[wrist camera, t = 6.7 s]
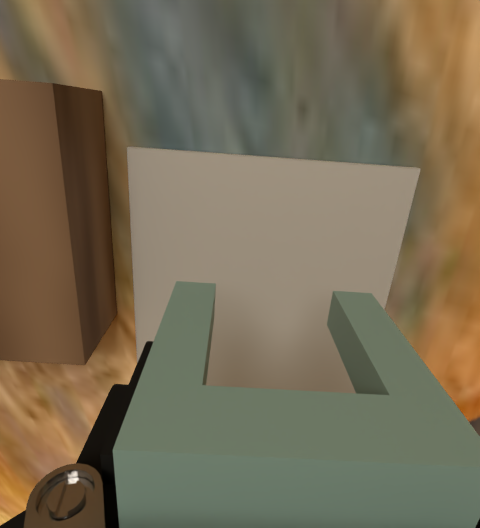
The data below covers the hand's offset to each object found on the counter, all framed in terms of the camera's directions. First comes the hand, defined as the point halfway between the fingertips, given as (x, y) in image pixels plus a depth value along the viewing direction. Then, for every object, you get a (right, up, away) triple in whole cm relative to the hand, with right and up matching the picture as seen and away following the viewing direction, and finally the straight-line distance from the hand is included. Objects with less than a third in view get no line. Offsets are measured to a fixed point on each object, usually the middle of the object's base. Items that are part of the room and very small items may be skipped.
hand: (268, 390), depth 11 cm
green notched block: (0, 0, +1) cm, 1 cm away
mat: (0, +3, +6) cm, 7 cm away
